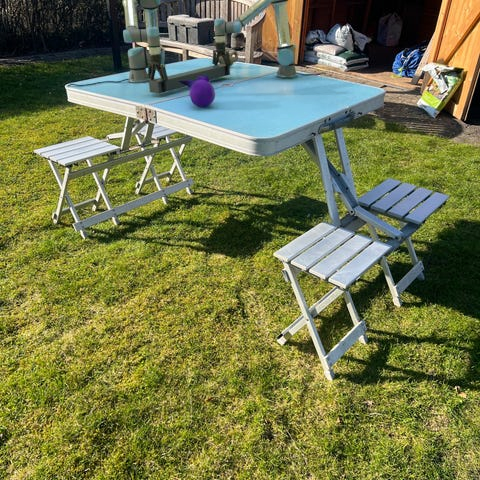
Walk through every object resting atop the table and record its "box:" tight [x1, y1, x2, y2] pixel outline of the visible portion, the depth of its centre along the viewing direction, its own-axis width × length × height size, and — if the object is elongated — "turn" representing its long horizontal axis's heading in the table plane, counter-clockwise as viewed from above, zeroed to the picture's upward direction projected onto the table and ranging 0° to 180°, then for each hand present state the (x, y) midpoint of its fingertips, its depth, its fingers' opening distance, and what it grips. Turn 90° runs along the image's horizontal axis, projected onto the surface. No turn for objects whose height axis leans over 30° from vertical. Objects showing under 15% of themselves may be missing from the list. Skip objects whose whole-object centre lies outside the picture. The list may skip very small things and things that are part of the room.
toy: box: [179, 76, 216, 109], centre depth 267 cm, size 16×18×27 cm
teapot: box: [218, 48, 239, 67], centre depth 378 cm, size 21×12×15 cm, turn 120°
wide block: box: [148, 63, 231, 95], centre depth 315 cm, size 74×9×7 cm, turn 143°
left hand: (159, 90), depth 295 cm, fingers closed on wide block, 9 cm apart
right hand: (222, 74), depth 339 cm, fingers closed on wide block, 9 cm apart
